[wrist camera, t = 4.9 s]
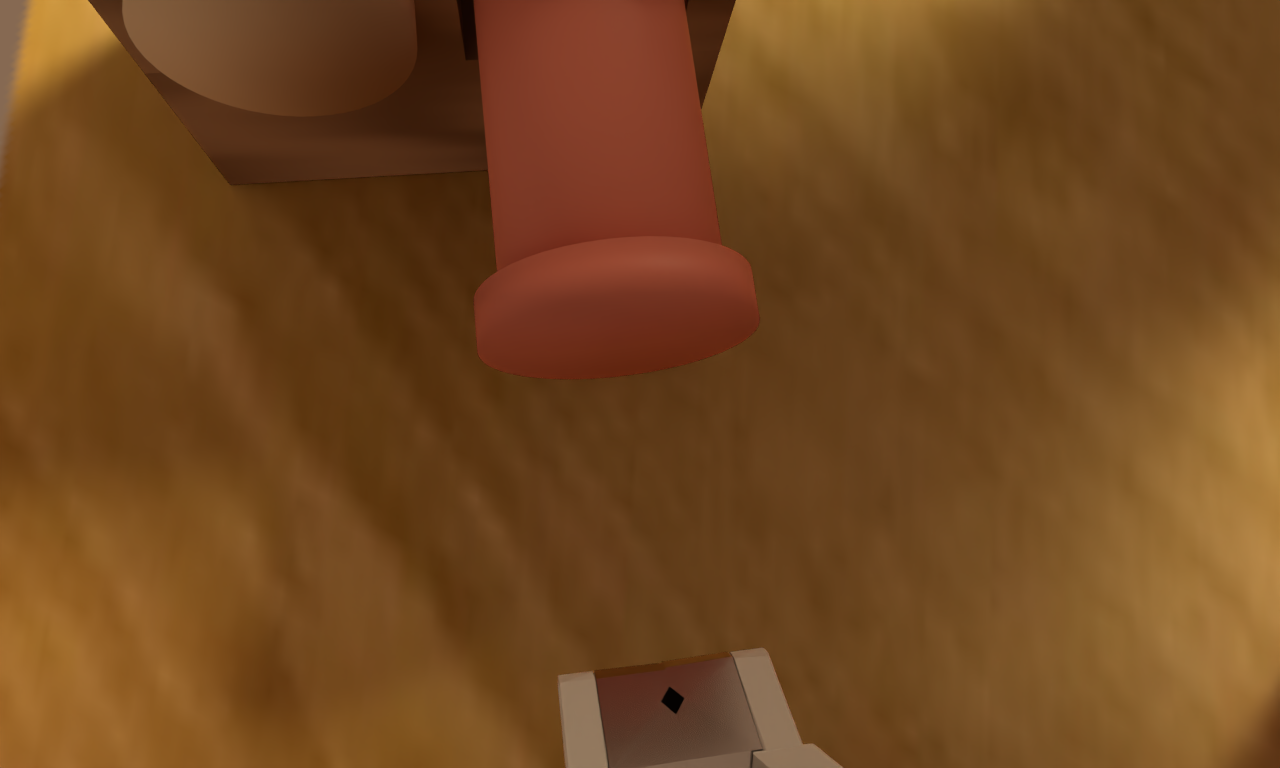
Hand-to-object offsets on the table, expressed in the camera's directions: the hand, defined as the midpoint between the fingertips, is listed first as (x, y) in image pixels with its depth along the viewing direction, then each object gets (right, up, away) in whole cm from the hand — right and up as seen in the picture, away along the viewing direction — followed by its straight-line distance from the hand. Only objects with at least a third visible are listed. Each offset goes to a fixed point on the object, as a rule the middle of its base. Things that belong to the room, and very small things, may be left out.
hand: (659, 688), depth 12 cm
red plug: (-1, +10, +4) cm, 11 cm away
